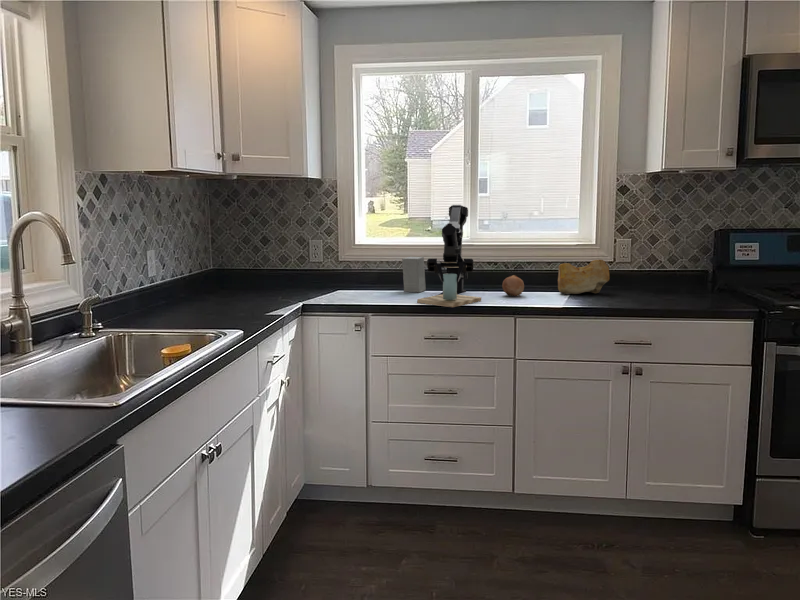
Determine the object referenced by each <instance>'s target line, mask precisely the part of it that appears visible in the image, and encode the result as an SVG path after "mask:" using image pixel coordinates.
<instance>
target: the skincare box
mask: <svg viewBox="0 0 800 600" xmlns="http://www.w3.org/2000/svg"><path fill="white" fill-rule="evenodd" d="M401 262H402V264H401V265H402V274H403V275H402V278H403V292H404V293H405V292H406V293H423V292H426V290H427V289H426V286H427V285H426V273H425V272H426V271H425V269H426V268H425V257H424V256H408V257H403V258H401Z"/></svg>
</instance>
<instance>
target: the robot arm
mask: <svg viewBox="0 0 800 600" xmlns="http://www.w3.org/2000/svg"><path fill="white" fill-rule="evenodd" d="M448 216H449V217H450V218H449V222H448V223H446V224H445V226H444V227H442V229H441V236H442V237H441V238H442V239H443V240H442V241H443V253H442V259H443V261H441V260H438V259H437V258H433V257H432V258H428V259H426V260H427V261H426V263H427V264H426V265H427V272H433V273H435V274H437V276H438V277H439V279H440V281H441V283H443V269H442V268H444V269H445V268H446V273H454V274H457V294H459V293H465V292H467V290H466V289H464V280H467V279H468V273H469V272H470V273H472V272H474V259H473V258H463V257H462V255H463V254H462V251H463V249H462V248H463V236H464V232H463V230H464V229H463V227H464V226H465V224H466V222H467V218H468V217H469V208H468V207H466V206H464V205H462V204H452V205H450V206H449V207H448Z"/></svg>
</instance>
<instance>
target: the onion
mask: <svg viewBox="0 0 800 600" xmlns="http://www.w3.org/2000/svg"><path fill="white" fill-rule="evenodd" d="M501 287H502V290H503V292H504V294H506V295H507V296H508V297H520V296H521V295H522V293H523V292H524V289H525V284H524V280H523V279H521V278H520V277H518V276H517V275H516V274H513V275H509V276H508V277H505V279H503V281H502V286H501Z"/></svg>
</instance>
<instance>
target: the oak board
mask: <svg viewBox="0 0 800 600" xmlns="http://www.w3.org/2000/svg"><path fill="white" fill-rule="evenodd" d="M478 301H479V302H482V296H481V297H480V296H473V295H464V294H457V299H455V300H445V299H443V293H442V294H436V295H431V296H425V297H420V298H417V303H418V304H423V303H425V304H426V305H431V304H432V305H434V306H439V307H440V306H441V307H448V308H456V307H461V306H464V305H465V304H466V305H469V303H470V304H474V303H478ZM473 302H474V303H473ZM466 305H465V306H466Z"/></svg>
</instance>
